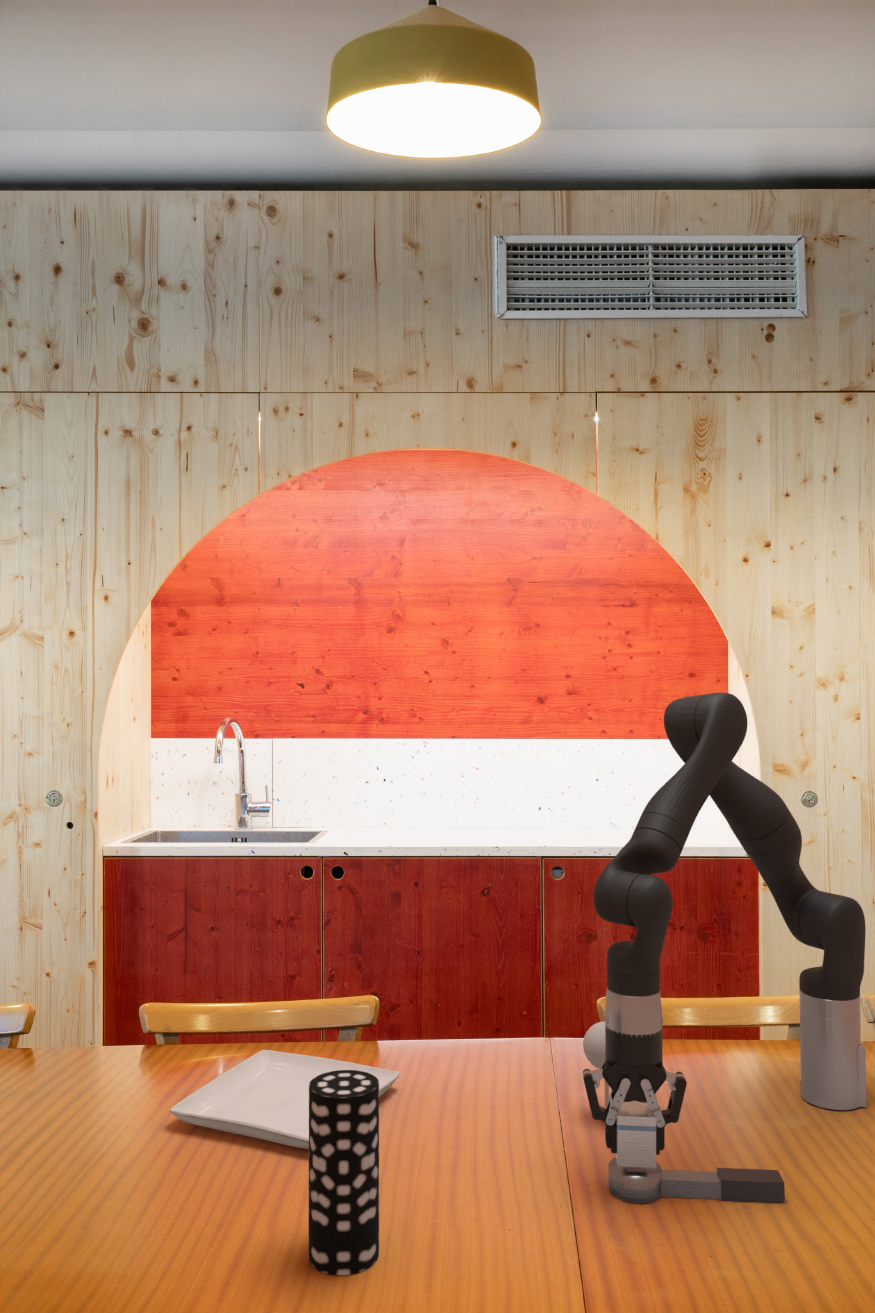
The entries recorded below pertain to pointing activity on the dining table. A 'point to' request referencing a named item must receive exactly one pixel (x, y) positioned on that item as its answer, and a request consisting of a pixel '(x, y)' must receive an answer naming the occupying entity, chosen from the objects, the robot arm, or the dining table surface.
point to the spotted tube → (343, 1171)
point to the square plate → (266, 1096)
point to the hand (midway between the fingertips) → (634, 1151)
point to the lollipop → (596, 1049)
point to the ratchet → (694, 1184)
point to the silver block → (635, 1135)
